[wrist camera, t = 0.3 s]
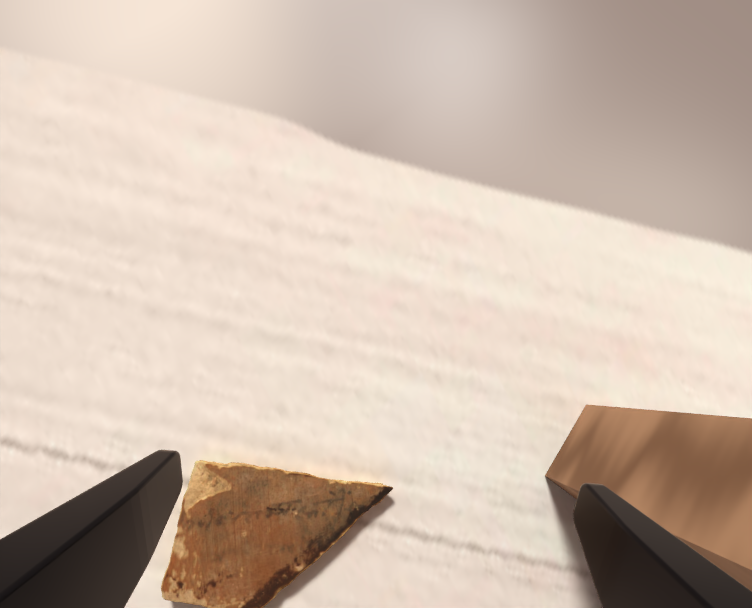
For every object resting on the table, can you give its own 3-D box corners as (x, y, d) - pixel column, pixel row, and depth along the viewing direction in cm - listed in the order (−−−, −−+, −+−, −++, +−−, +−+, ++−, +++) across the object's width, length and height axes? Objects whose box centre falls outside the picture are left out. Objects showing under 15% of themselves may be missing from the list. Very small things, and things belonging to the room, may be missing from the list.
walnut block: (616, 529, 23) (951, 707, 10) (545, 475, 23) (784, 585, 11) (655, 455, 24) (1004, 534, 11) (586, 404, 24) (850, 426, 12)
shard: (390, 480, 23) (393, 488, 21) (368, 629, 22) (370, 651, 20) (203, 451, 23) (191, 457, 21) (167, 601, 21) (151, 621, 19)
